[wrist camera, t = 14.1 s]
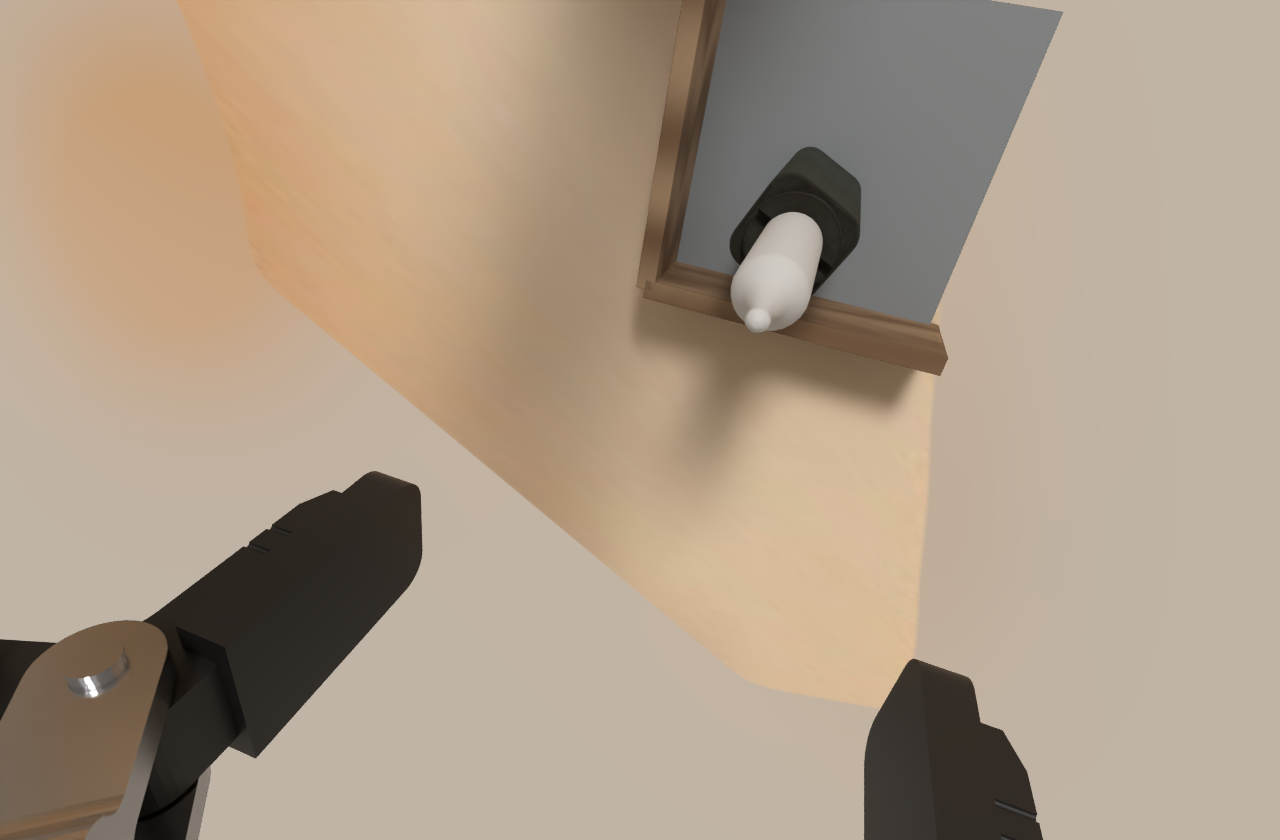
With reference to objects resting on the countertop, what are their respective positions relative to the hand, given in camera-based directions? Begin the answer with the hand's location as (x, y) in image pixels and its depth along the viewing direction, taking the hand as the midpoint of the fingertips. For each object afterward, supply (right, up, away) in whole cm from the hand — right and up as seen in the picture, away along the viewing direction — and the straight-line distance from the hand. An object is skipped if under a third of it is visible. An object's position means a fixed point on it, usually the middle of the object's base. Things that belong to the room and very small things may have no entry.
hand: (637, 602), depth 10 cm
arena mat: (+13, +20, +30) cm, 38 cm away
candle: (+11, +18, +31) cm, 38 cm away
